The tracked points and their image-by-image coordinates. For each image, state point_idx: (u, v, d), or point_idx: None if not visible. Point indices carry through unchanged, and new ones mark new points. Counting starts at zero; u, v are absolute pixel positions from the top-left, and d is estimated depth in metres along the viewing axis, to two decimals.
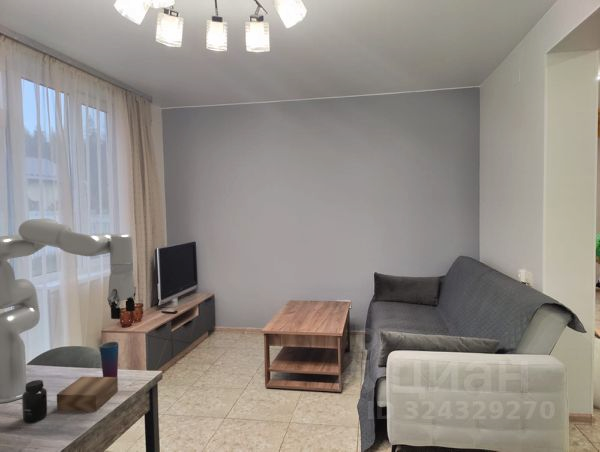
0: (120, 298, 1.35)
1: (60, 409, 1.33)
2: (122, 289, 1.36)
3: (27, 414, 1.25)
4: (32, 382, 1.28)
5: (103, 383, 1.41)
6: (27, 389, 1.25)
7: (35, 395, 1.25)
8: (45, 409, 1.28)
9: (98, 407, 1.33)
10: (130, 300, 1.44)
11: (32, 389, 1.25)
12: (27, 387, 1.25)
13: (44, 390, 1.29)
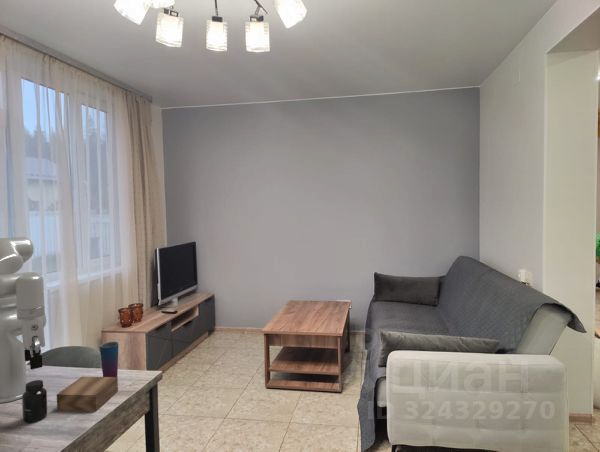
0: None
1: (60, 409, 1.33)
2: None
3: (27, 414, 1.25)
4: (32, 382, 1.28)
5: (103, 383, 1.41)
6: (27, 389, 1.25)
7: (35, 395, 1.25)
8: (45, 409, 1.28)
9: (98, 407, 1.33)
10: None
11: (32, 389, 1.25)
12: (27, 387, 1.25)
13: (44, 390, 1.29)
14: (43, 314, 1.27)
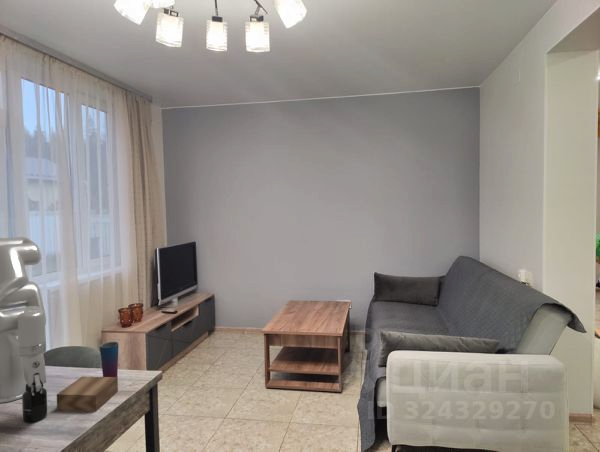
0: None
1: (60, 409, 1.33)
2: (23, 368, 1.28)
3: (27, 414, 1.25)
4: None
5: (103, 383, 1.41)
6: (27, 389, 1.25)
7: None
8: (45, 409, 1.28)
9: (98, 407, 1.33)
10: None
11: None
12: (27, 387, 1.25)
13: (44, 390, 1.29)
14: (44, 350, 1.28)
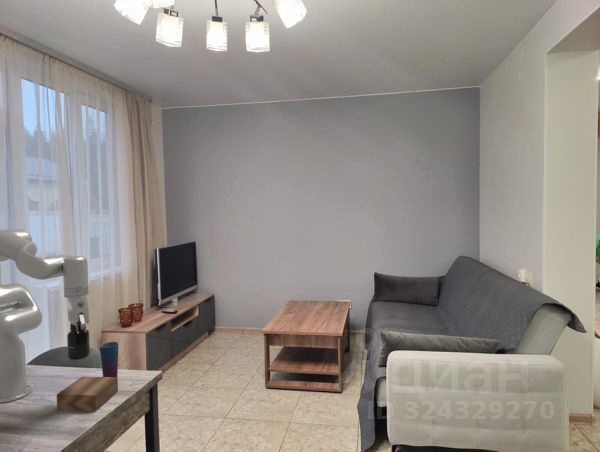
0: None
1: (60, 409, 1.33)
2: None
3: (72, 351, 1.33)
4: None
5: (103, 383, 1.40)
6: (72, 328, 1.34)
7: None
8: (88, 348, 1.37)
9: (98, 407, 1.33)
10: None
11: None
12: (72, 326, 1.34)
13: (87, 331, 1.37)
14: (87, 293, 1.36)
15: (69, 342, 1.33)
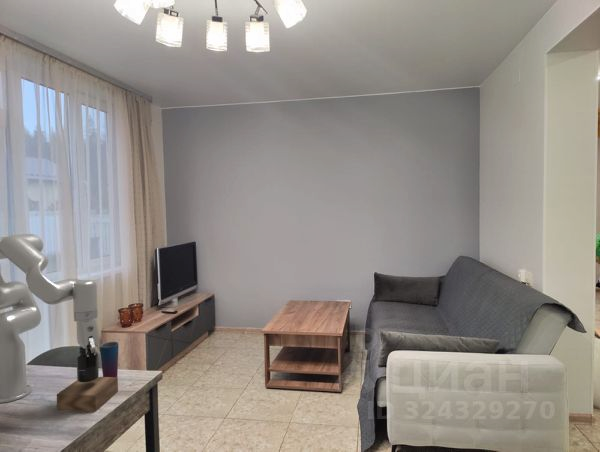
0: None
1: (60, 409, 1.33)
2: None
3: (82, 374, 1.36)
4: None
5: (103, 383, 1.40)
6: (81, 351, 1.36)
7: None
8: (97, 370, 1.39)
9: (98, 407, 1.33)
10: None
11: None
12: (81, 349, 1.36)
13: (96, 353, 1.40)
14: (96, 316, 1.39)
15: (79, 365, 1.36)
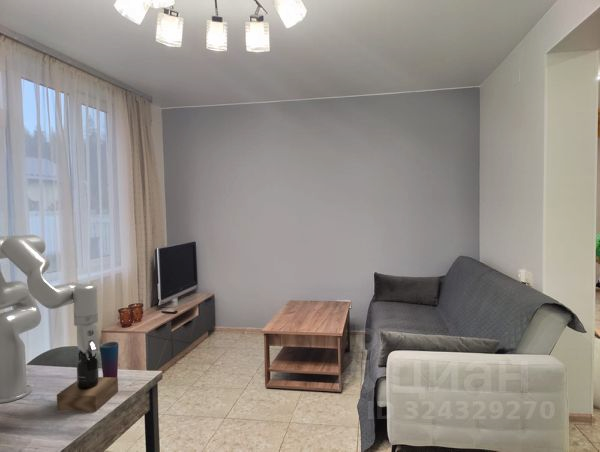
0: None
1: (60, 409, 1.33)
2: (77, 337, 1.40)
3: (82, 381, 1.36)
4: None
5: (103, 384, 1.40)
6: (81, 358, 1.37)
7: None
8: (97, 377, 1.40)
9: (98, 407, 1.33)
10: None
11: (86, 358, 1.37)
12: (81, 356, 1.37)
13: None
14: (97, 320, 1.39)
15: (79, 372, 1.36)
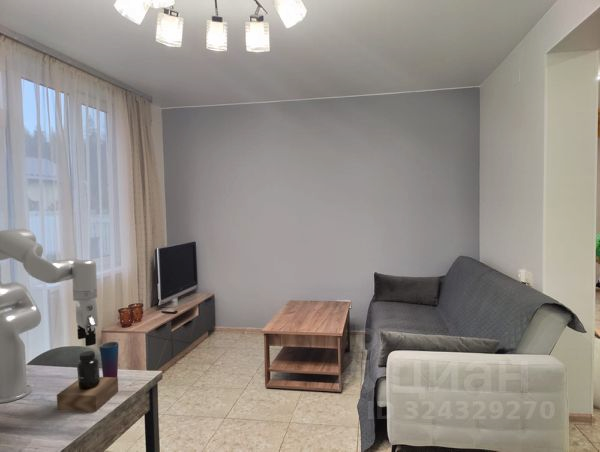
0: None
1: (60, 409, 1.33)
2: (76, 313, 1.39)
3: (81, 381, 1.36)
4: (85, 352, 1.39)
5: (103, 383, 1.40)
6: (80, 358, 1.36)
7: (87, 365, 1.36)
8: (97, 378, 1.38)
9: (98, 407, 1.33)
10: None
11: (84, 359, 1.36)
12: (80, 357, 1.36)
13: (95, 360, 1.39)
14: (96, 296, 1.38)
15: (78, 372, 1.36)
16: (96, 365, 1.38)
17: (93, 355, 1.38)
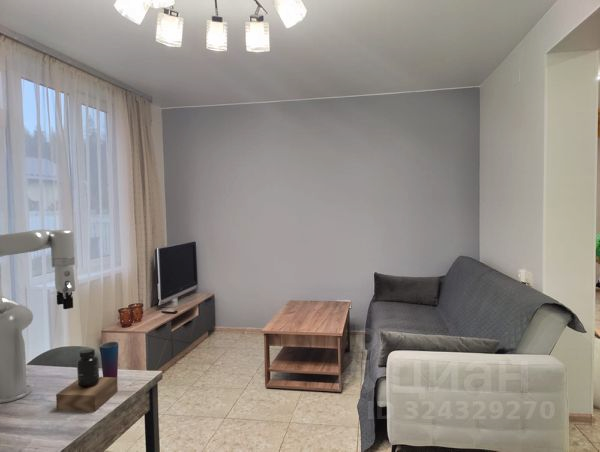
0: None
1: (59, 409, 1.33)
2: (55, 279, 1.48)
3: (80, 379, 1.37)
4: (86, 350, 1.41)
5: (102, 383, 1.40)
6: (80, 355, 1.38)
7: (86, 361, 1.37)
8: (96, 376, 1.39)
9: (97, 407, 1.33)
10: None
11: (84, 356, 1.38)
12: (80, 354, 1.38)
13: (95, 358, 1.40)
14: (73, 263, 1.48)
15: (78, 369, 1.37)
16: (95, 362, 1.40)
17: (93, 352, 1.40)
